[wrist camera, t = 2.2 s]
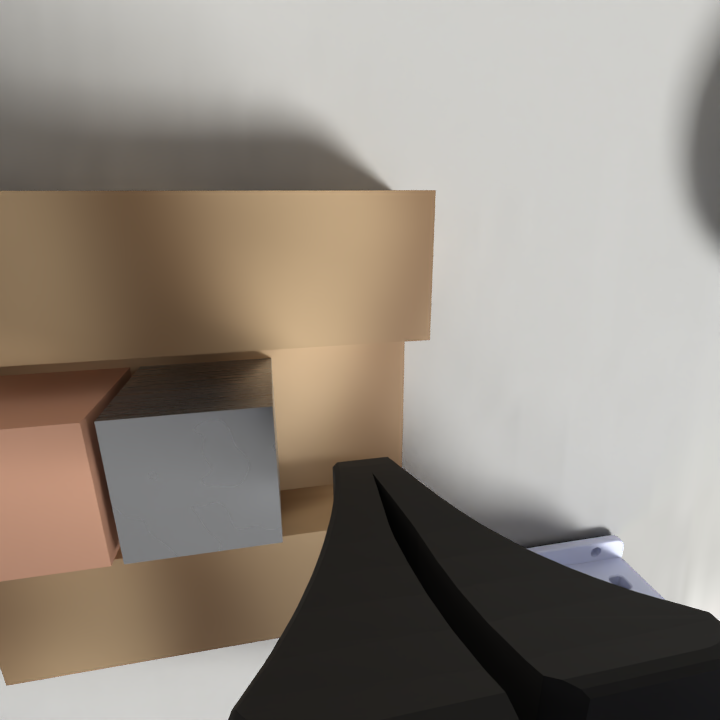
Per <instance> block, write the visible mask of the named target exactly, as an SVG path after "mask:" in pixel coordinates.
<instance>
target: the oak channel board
mask: <svg viewBox="0 0 720 720" xmlns="http://www.w3.org/2000/svg"><path fill="white" fill-rule="evenodd" d="M435 192H436V190H376V191H0V376H6V375H21V374H36V373H51V372H66V371H81V370H97V369H112V368H127V367H130V371H131V377H132V376H133V375H134V373H135V372H136V371H137V370H138V369H139V367H142V366H157V365H172V364H187V363H202V362H218V361H233V360H248V359H263V358H271V361H272V375H273V389H274V402H275V416H276V430H277V443H278V457H279V473H280V493H281V514H282V535H283V542H282V543H275V544H268V545H261V546H253V547H246V548H239V549H232V550H225V551H217V552H210V553H203V554H196V555H189V556H181V557H174V558H167V559H160V560H152V561H145V562H138V563H131V564H124V562H123V557H122V552H121V547H120V548H119V550H118V552H117V555H116V557H115V559H114V561H113V564H112V566H109V567H102V568H95V569H88V570H80V571H73V572H66V573H59V574H51V575H44V576H37V577H30V578H23V579H15V580H8V581H1V582H0V668H1V671H2V674H3V677H4V680H5V683H6V685H13V684H18V683H24V682H30V681H35V680H41V679H47V678H52V677H58V676H64V675H69V674H75V673H81V672H87V671H92V670H98V669H104V668H109V667H115V666H121V665H126V664H132V663H138V662H144V661H149V660H155V659H161V658H166V657H172V656H178V655H183V654H189V653H195V652H200V651H206V650H212V649H218V648H223V647H229V646H235V645H240V644H246V643H252V642H257V641H263V640H269V639H275V638H280V637H281V635H282V633H283V631H284V630H285V628H286V626H287V624H288V623H289V621H290V619H291V618H292V616H293V614H294V612H295V610H296V608H297V606H298V604H299V602H300V600H301V598H302V596H303V593H304V591H305V589H306V587H307V585H308V582H309V580H310V578H311V576H312V573H313V571H314V568H315V566H316V563H317V560H318V558H319V555H320V552H321V549H322V546H323V543H324V539H325V536H326V532H327V528H328V525H329V521H330V517H331V512H332V506H333V501H334V500H333V468H332V467H333V466H334V465H335V464H336V463H337V462H344V461H353V460H362V459H371V458H380V457H389V458H390V459H391V460H393V461H394V462H395V463H397V464H398V465H399V466H400V467H402V434H403V386H404V341H419V340H430V321H431V295H432V269H433V243H434V218H435Z"/></svg>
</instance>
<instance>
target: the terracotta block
mask: <svg viewBox="0 0 720 720" xmlns="http://www.w3.org/2000/svg"><path fill="white" fill-rule="evenodd" d="M130 378H131V371H130V367H127V368H112V369H97V370H81V371H66V372H51V373H36V374H21V375H6V376H0V582H1V581H8V580H15V579H23V578H30V577H37V576H44V575H51V574H59V573H66V572H73V571H80V570H88V569H95V568H102V567H109V566H112V564H113V561H114V559H115V557H116V555H117V552H118V550H119V548H120V543H119V538H118V533H117V528H116V524H115V519H114V514H113V509H112V504H111V500H110V495H109V490H108V485H107V480H106V476H105V471H104V466H103V461H102V456H101V452H100V447H99V442H98V437H97V432H96V428H95V423H94V421H95V420H96V419H97V418H98V417H99V415H100V414H101V413H102V412H103V411H104V409H105V408H106V407H107V406H108V405H109V403H110V402H111V401H112V400H113V399H114V397H115V396H116V395H117V394H118V393H119V391H120V390H121V389H122V388H123V387H124V385H125V384H126V383H127V382H128V381H129V379H130Z"/></svg>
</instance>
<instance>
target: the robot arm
mask: <svg viewBox="0 0 720 720" xmlns="http://www.w3.org/2000/svg"><path fill="white" fill-rule="evenodd" d="M332 468H333V500H334V501H333V506H332V512H331V517H330V521H329V525H328V528H327V532H326V536H325V539H324V543H323V546H322V549H321V552H320V555H319V558H318V560H317V563H316V566H315V568H314V571H313V573H312V576H311V578H310V580H309V582H308V585H307V587H306V589H305V591H304V593H303V596H302V598H301V600H300V602H299V604H298V606H297V608H296V610H295V612H294V614H293V616H292V618H291V619H290V621H289V623H288V624H287V626H286V628H285V630H284V631H283V633H282V635H281V637H280V638H279V640H278V642H277V644H276V645H275V647H274V649H273V650H272V652H271V654H270V655H269V657H268V658H267V660H266V662H265V663H264V665H263V666H262V668H261V669H260V670H259V672H258V673H257V675H256V676H255V678H254V679H253V681H252V682H251V683H250V685H249V686H248V688H247V689H246V691H245V692H244V693H243V695H242V696H241V698H240V699H239V701H238V702H237V704H236V705H235V706H234V708H233V709H232V711H231V714H230V717H229V719H228V720H720V621H719V620H717V619H716V618H715V617H714V616H713V615H712V614H710V613H709V612H706V611H702V610H699V609H695V608H692V607H688V606H685V605H681V604H678V603H674V602H671V601H667V600H665V599H664V598H663V597H662V596H661V595H660V594H659V593H658V592H657V591H656V590H654V589H653V588H652V587H651V586H650V585H649V584H648V583H647V582H646V581H645V580H644V579H643V578H642V577H641V576H640V575H639V574H638V573H637V572H636V571H635V570H634V569H633V568H632V567H631V566H630V565H629V564H628V563H627V562H626V561H625V560H623V559H622V553H623V548H624V543H623V541H622V540H621V539H620V538H618V537H617V536H615V535H609V536H602V537H596V538H590V539H583V540H577V541H570V542H564V543H558V544H551V545H545V546H538V547H532V548H524V547H522V546H520V545H518V544H516V543H514V542H512V541H511V540H509V539H507V538H505V537H503V536H501V535H499V534H498V533H496V532H494V531H492V530H490V529H488V528H487V527H485V526H483V525H482V524H480V523H478V522H477V521H475V520H473V519H472V518H470V517H469V516H467V515H466V514H464V513H463V512H461V511H459V510H458V509H456V508H455V507H453V506H452V505H450V504H449V503H448V502H446V501H445V500H443V499H442V498H440V497H439V496H438V495H436V494H435V493H434V492H432V491H431V490H430V489H428V488H427V487H426V486H424V485H423V484H422V483H420V482H419V481H418V480H417V479H415V478H414V477H413V476H412V475H410V474H409V473H408V472H406V471H405V470H404V469H403V468H402V467H400V466H399V465H398V464H397V463H395V462H394V461H393V460H391V459H390V458H389V457H380V458H371V459H362V460H353V461H344V462H337V463H336V464H335V465H334V466H333V467H332Z"/></svg>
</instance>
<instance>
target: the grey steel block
mask: <svg viewBox="0 0 720 720" xmlns="http://www.w3.org/2000/svg"><path fill="white" fill-rule="evenodd" d="M94 423H95V428H96V432H97V437H98V442H99V447H100V452H101V456H102V461H103V466H104V471H105V476H106V480H107V485H108V490H109V495H110V500H111V504H112V509H113V514H114V519H115V524H116V528H117V533H118V538H119V543H120V547H121V552H122V557H123V562H124V564H131V563H138V562H145V561H152V560H160V559H167V558H174V557H181V556H189V555H196V554H203V553H210V552H217V551H225V550H232V549H239V548H246V547H253V546H261V545H268V544H275V543H282V542H283V535H282V514H281V493H280V473H279V457H278V443H277V430H276V416H275V402H274V389H273V375H272V361H271V358H263V359H248V360H233V361H218V362H202V363H187V364H172V365H157V366H142V367H139V369H138V370H137V371H136V372H135V373H134V375H133V376H132V377H131V378H130V379H129V381H128V382H127V383H126V384H125V385H124V387H123V388H122V389H121V390H120V391H119V393H118V394H117V395H116V396H115V397H114V399H113V400H112V401H111V402H110V403H109V405H108V406H107V407H106V408H105V409H104V411H103V412H102V413H101V414H100V415H99V417H98V418H97V419H96V420H95V421H94Z"/></svg>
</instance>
